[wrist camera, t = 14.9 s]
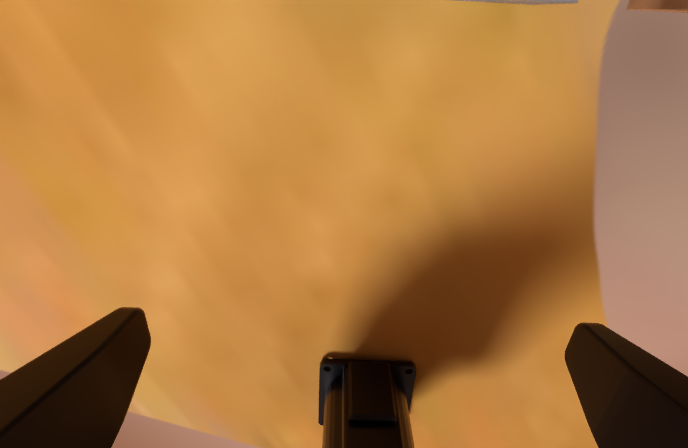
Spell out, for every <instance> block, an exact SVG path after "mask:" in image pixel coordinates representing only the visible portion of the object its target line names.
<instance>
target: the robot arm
mask: <svg viewBox="0 0 688 448" xmlns="http://www.w3.org/2000/svg"><path fill="white" fill-rule="evenodd" d="M150 345H151V337H150V332H149V329H148V325H147V321H146V317H145V313H144V311H143V310H142V309H141V308H134V307H121V308H118V309H117V310H115V311H113V312H112V313H110V314H108V315H107V316H105V317H103V318H102V319H100V320H98V321H97V322H95V323H93V324H92V325H90V326H88V327H87V328H85V329H83V330H82V331H80V332H78V333H77V334H75V335H73V336H72V337H70V338H69V339H67V340H65V341H64V342H62V343H60V344H59V345H57V346H55V347H54V348H52V349H50V350H49V351H47V352H45V353H44V354H42V355H40V356H39V357H37V358H35V359H34V360H32V361H30V362H29V363H27V364H26V365H24V366H22V367H21V368H19V369H17V370H16V371H14V372H12V373H11V374H9V375H7V376H6V377H4V378H2V379H1V380H0V448H111V447H112V445H113V443H114V441H115V439H116V436H117V434H118V432H119V430H120V428H121V426H122V423H123V421H124V419H125V416H126V413H127V411H128V408H129V405H130V403H131V400H132V397H133V394H134V392H135V389H136V386H137V383H138V380H139V378H140V375H141V372H142V369H143V366H144V364H145V361H146V358H147V355H148V352H149V349H150ZM565 361H566V365H567V367H568V370H569V373H570V375H571V378H572V381H573V384H574V386H575V389H576V392H577V394H578V397H579V400H580V403H581V405H582V408H583V411H584V413H585V416H586V419H587V422H588V424H589V427H590V429H591V432H592V434H593V436H594V438H595V441H596V443H597V445H598V447H599V448H688V377H687V376H686V375H684V374H683V373H681V372H679V371H678V370H676V369H674V368H672V367H671V366H669V365H668V364H666V363H664V362H663V361H661V360H660V359H658V358H656V357H655V356H653V355H651V354H650V353H648V352H646V351H645V350H643V349H641V348H640V347H638V346H636V345H635V344H633V343H632V342H630V341H628V340H627V339H625V338H623V337H621V336H620V335H618V334H617V333H615V332H614V331H612V330H610V329H609V328H607V327H605V326H604V325H602V324H599V323H579V324H578V325H577V326H576V327H575V329H574V331H573V334H572V336H571V338H570V341H569V343H568V345H567V348H566V350H565ZM326 366H328V367H326ZM407 369H408V370H407ZM415 376H416V367H415V364H414V363H412V362H405V361H373V360H341V359H325V360H322V361H321V363H320V380H319V424H320V425H323V445H322V448H414V442H413V436H412V430H411V424H410V417H409V407H410V402H411V397H412V391H413V386H414V381H415Z"/></svg>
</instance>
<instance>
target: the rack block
mask: <svg viewBox="0 0 688 448" xmlns="http://www.w3.org/2000/svg"><path fill="white" fill-rule="evenodd" d="M458 1H477V2H496V3H515V4H533V5H536V4H563V3H578V0H458Z"/></svg>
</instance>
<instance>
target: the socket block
mask: <svg viewBox="0 0 688 448" xmlns="http://www.w3.org/2000/svg"><path fill="white" fill-rule="evenodd" d="M627 10H647V11H665V12H684V13H685V12H686V13H688V0H630V1H629V4H628V7H627Z"/></svg>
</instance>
